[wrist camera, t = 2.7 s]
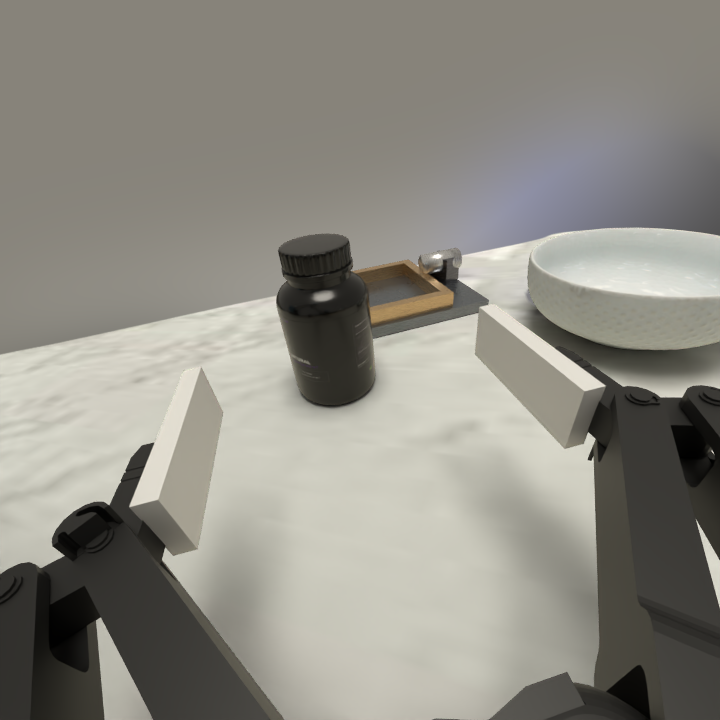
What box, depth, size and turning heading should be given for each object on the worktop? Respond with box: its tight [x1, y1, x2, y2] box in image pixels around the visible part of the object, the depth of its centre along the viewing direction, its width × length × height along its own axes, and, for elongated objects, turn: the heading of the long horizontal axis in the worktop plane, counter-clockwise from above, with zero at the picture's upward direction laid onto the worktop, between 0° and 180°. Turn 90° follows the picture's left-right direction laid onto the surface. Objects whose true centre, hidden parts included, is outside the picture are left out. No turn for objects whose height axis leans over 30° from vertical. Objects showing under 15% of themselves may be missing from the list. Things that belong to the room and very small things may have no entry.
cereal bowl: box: [527, 228, 720, 350], centre depth 29 cm, size 17×17×7 cm
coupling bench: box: [352, 248, 489, 338], centre depth 39 cm, size 21×13×5 cm, turn 106°
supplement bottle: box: [276, 234, 375, 405], centre depth 26 cm, size 7×7×12 cm
